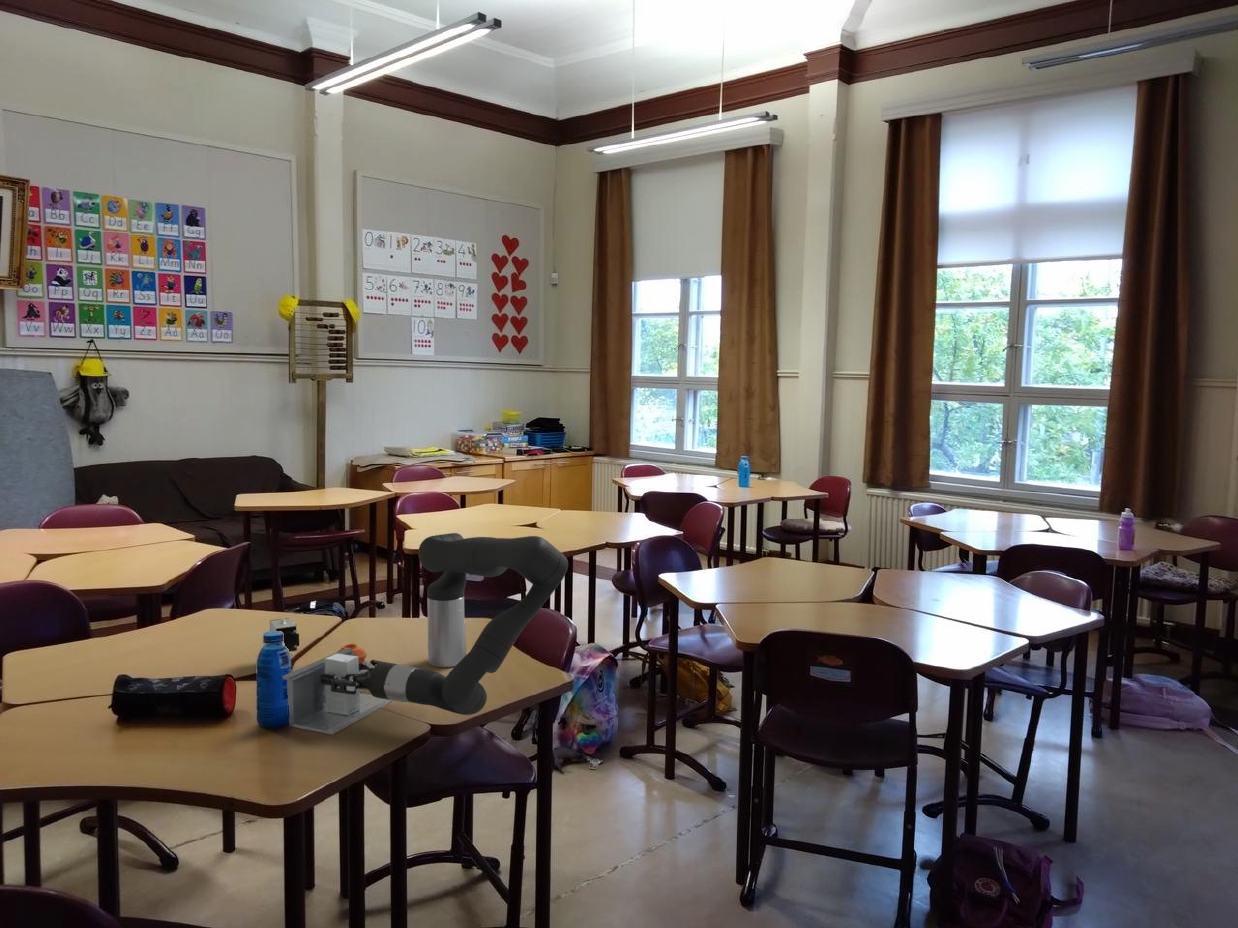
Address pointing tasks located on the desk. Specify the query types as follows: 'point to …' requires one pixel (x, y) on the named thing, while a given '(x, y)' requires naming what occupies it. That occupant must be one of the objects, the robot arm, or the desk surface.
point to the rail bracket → (321, 700)
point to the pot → (356, 652)
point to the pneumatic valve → (287, 632)
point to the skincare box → (341, 666)
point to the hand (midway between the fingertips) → (334, 672)
